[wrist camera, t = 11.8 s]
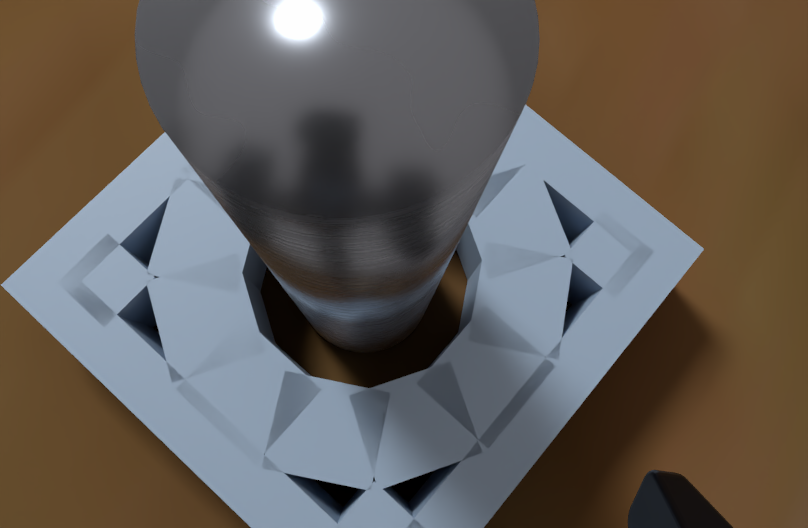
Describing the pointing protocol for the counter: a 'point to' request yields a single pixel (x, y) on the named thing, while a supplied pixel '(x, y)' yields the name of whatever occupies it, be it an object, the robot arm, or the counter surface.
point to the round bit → (343, 136)
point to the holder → (344, 403)
